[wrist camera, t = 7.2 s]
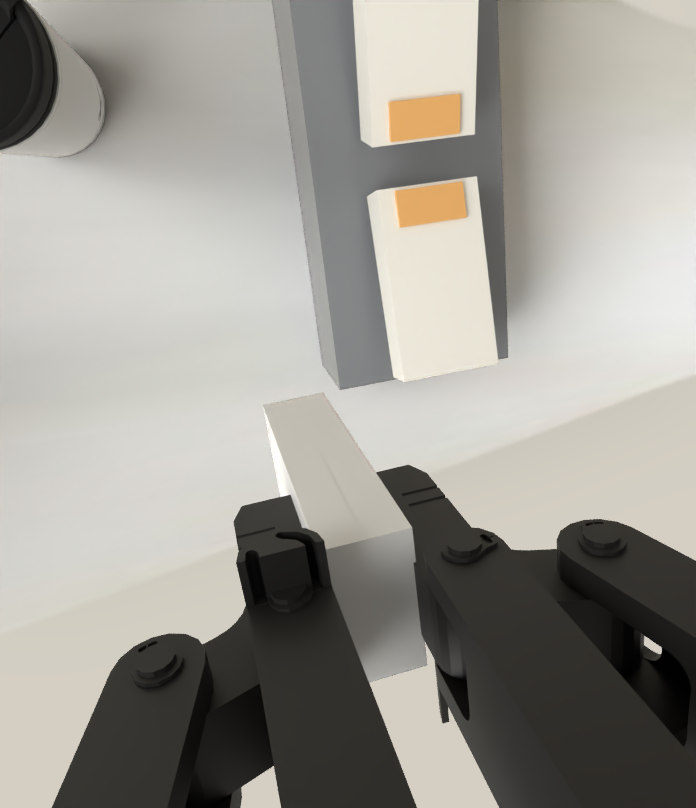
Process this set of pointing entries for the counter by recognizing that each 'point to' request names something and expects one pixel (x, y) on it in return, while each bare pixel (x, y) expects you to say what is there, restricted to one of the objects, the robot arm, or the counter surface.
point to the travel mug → (44, 88)
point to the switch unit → (373, 179)
